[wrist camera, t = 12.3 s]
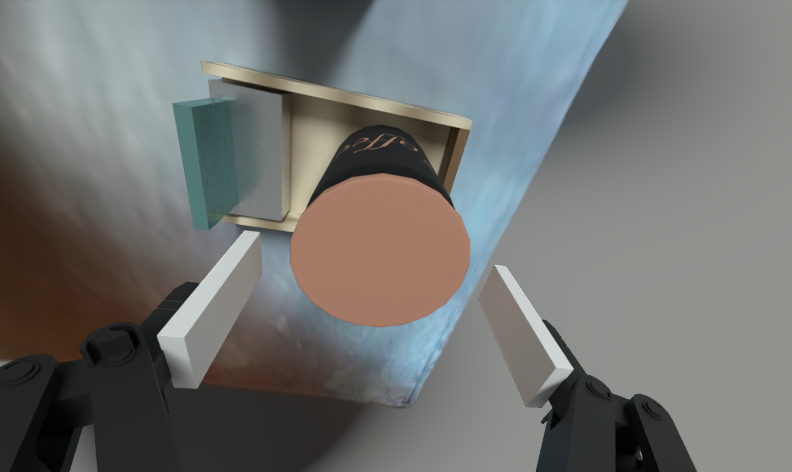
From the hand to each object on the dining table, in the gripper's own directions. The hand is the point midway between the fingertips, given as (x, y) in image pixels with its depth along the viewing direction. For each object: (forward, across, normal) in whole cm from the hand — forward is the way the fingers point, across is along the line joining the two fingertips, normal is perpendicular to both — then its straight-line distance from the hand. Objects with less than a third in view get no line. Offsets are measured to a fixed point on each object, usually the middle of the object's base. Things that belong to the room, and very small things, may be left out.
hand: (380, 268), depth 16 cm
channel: (+19, -4, 0) cm, 20 cm away
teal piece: (+18, -13, 0) cm, 22 cm away
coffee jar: (+19, 0, 0) cm, 19 cm away
